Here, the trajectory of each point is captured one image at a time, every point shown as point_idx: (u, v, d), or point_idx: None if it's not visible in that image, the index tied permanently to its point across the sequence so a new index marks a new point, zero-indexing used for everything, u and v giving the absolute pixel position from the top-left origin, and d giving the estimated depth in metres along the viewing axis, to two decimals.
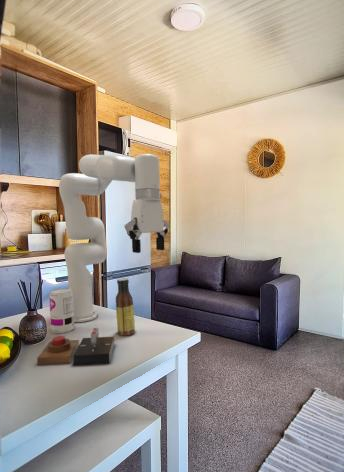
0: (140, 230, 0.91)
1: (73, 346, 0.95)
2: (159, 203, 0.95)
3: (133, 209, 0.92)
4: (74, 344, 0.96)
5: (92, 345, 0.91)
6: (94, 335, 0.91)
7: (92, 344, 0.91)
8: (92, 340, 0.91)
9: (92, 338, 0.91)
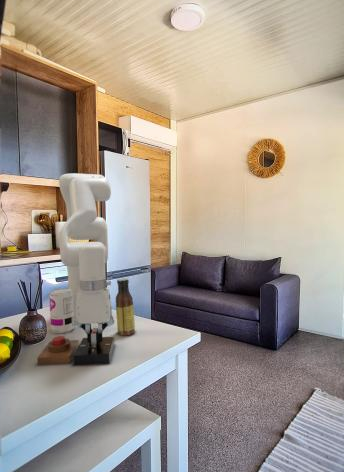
0: (77, 321, 0.91)
1: (73, 346, 0.95)
2: (101, 294, 0.90)
3: None
4: (74, 344, 0.96)
5: (92, 345, 0.91)
6: (94, 335, 0.91)
7: (92, 344, 0.91)
8: (92, 340, 0.91)
9: (92, 338, 0.91)
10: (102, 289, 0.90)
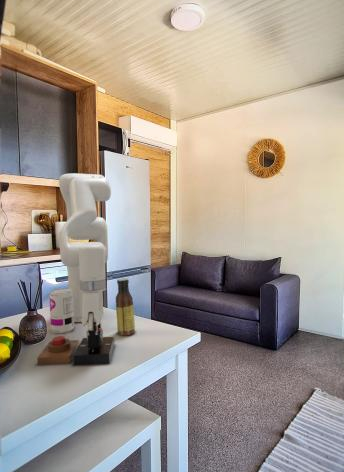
0: (97, 324, 0.89)
1: (73, 346, 0.95)
2: None
3: (87, 303, 0.88)
4: (74, 344, 0.96)
5: (102, 342, 0.93)
6: (102, 331, 0.94)
7: (102, 341, 0.93)
8: (102, 337, 0.93)
9: (102, 335, 0.93)
10: None
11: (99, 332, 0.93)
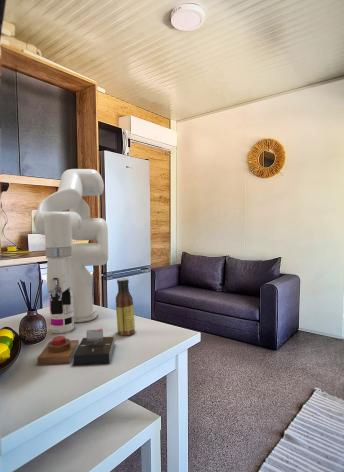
0: (62, 290, 0.88)
1: (73, 346, 0.95)
2: (69, 259, 0.95)
3: (51, 269, 0.87)
4: (74, 344, 0.96)
5: (102, 342, 0.93)
6: (102, 331, 0.94)
7: (102, 341, 0.93)
8: (102, 337, 0.93)
9: (102, 335, 0.93)
10: None
11: (99, 332, 0.93)
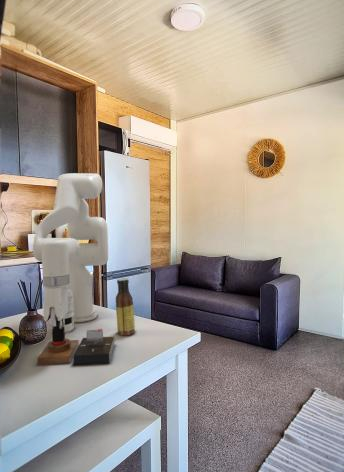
0: (59, 319, 0.88)
1: (73, 346, 0.95)
2: (66, 286, 0.95)
3: (48, 298, 0.88)
4: (74, 344, 0.96)
5: (102, 342, 0.93)
6: (102, 331, 0.94)
7: (102, 341, 0.93)
8: (102, 337, 0.93)
9: (102, 335, 0.93)
10: None
11: (99, 332, 0.93)
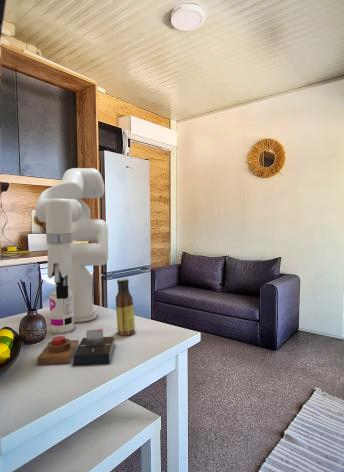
0: (63, 275, 0.90)
1: (73, 346, 0.95)
2: None
3: (52, 255, 0.89)
4: (74, 344, 0.96)
5: (102, 342, 0.93)
6: (102, 331, 0.94)
7: (102, 341, 0.93)
8: (102, 337, 0.93)
9: (102, 335, 0.93)
10: None
11: (99, 332, 0.93)
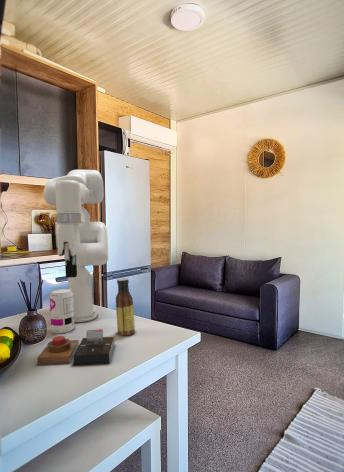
0: (72, 253, 0.94)
1: (73, 346, 0.95)
2: (78, 226, 1.00)
3: (62, 233, 0.93)
4: (74, 344, 0.96)
5: (102, 342, 0.93)
6: (102, 331, 0.94)
7: (102, 341, 0.93)
8: (102, 337, 0.93)
9: (102, 335, 0.93)
10: None
11: (99, 332, 0.93)
